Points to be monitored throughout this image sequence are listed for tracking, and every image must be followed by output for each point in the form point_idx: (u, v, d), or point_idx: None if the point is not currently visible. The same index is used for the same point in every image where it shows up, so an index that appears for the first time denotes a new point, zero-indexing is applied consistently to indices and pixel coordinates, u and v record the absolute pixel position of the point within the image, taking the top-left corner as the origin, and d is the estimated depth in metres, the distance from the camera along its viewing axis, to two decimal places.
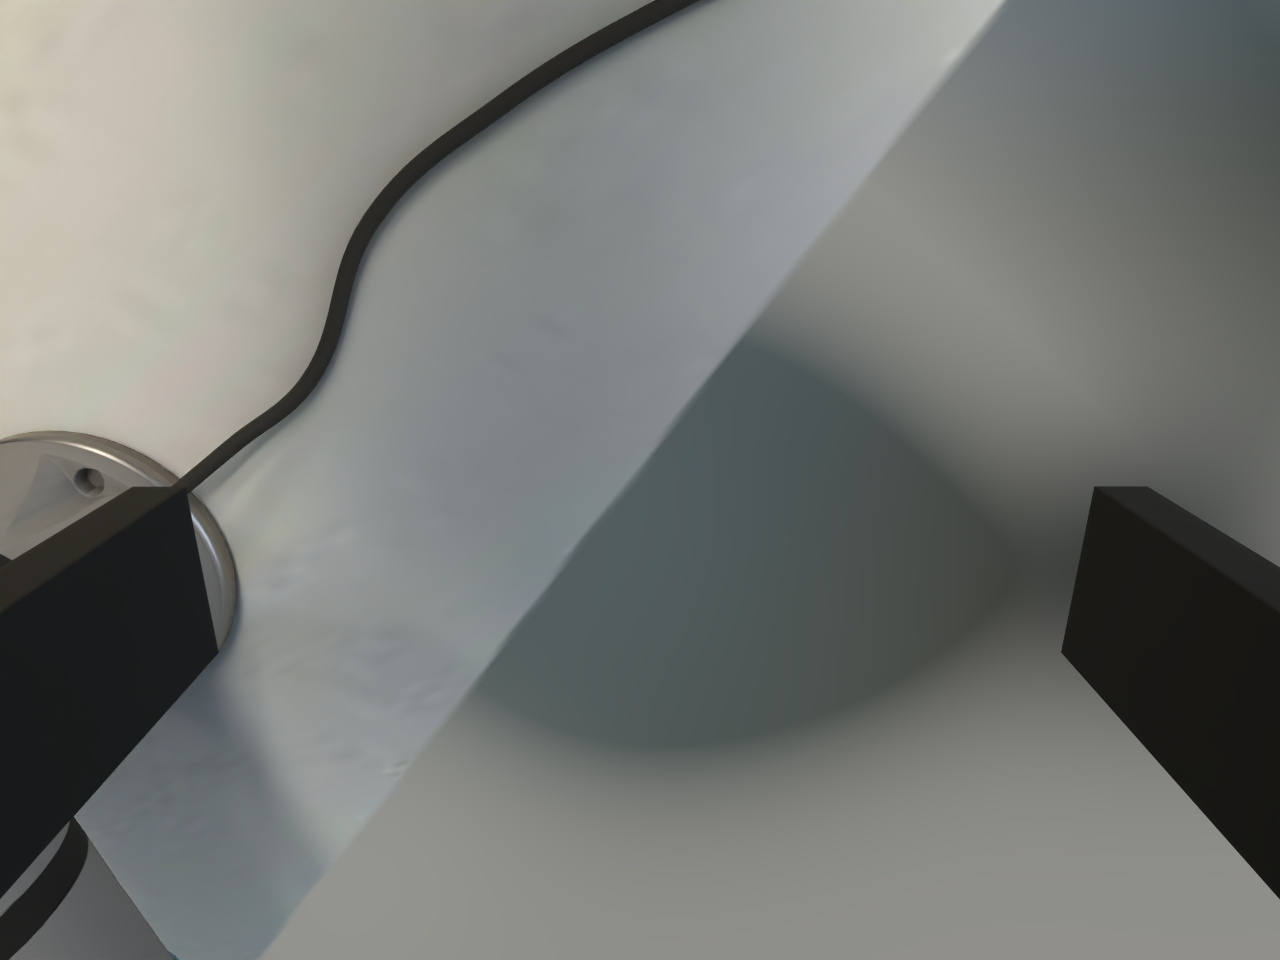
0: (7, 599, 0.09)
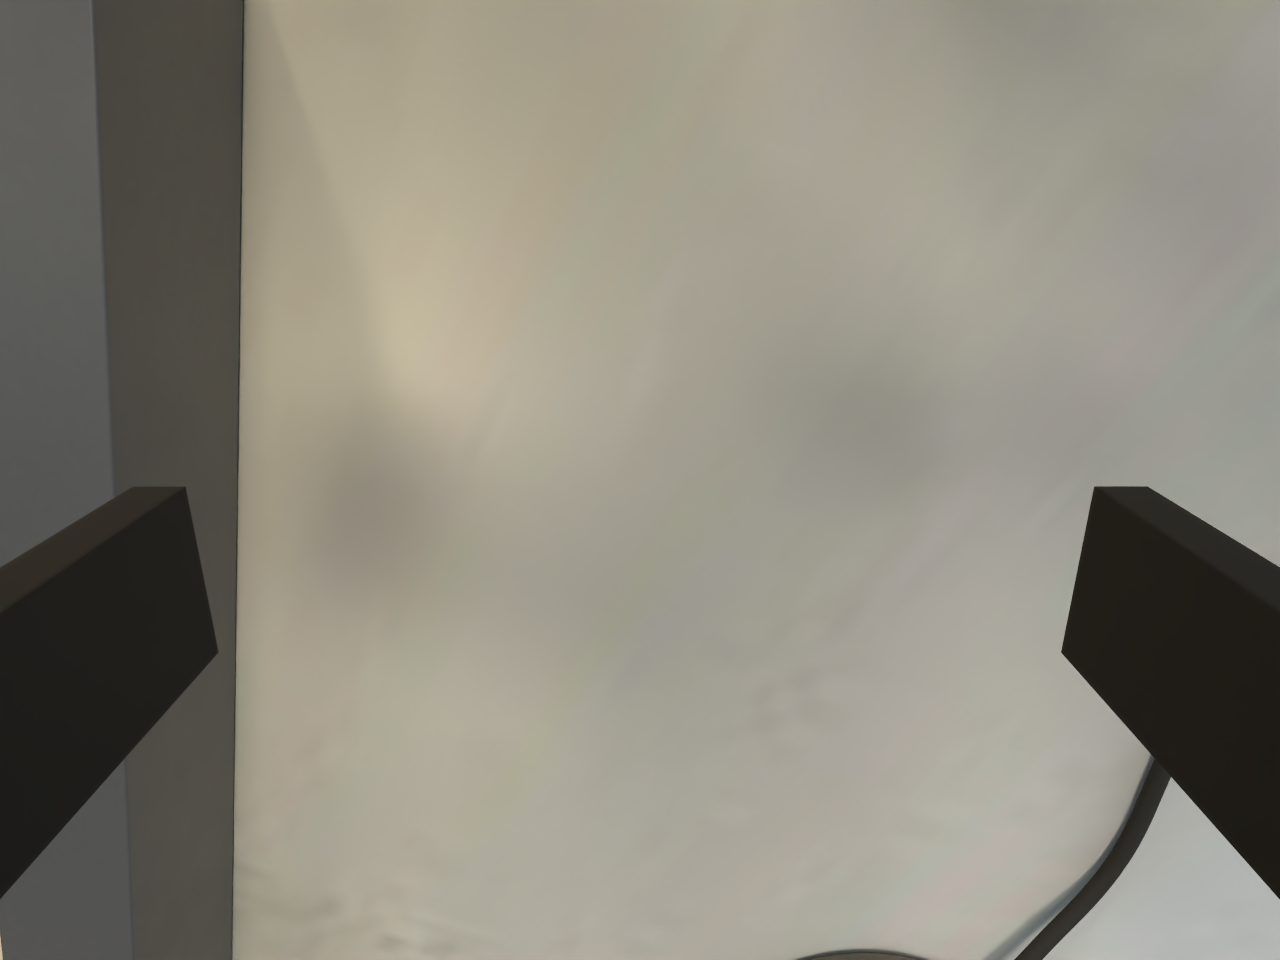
0: (7, 599, 0.09)
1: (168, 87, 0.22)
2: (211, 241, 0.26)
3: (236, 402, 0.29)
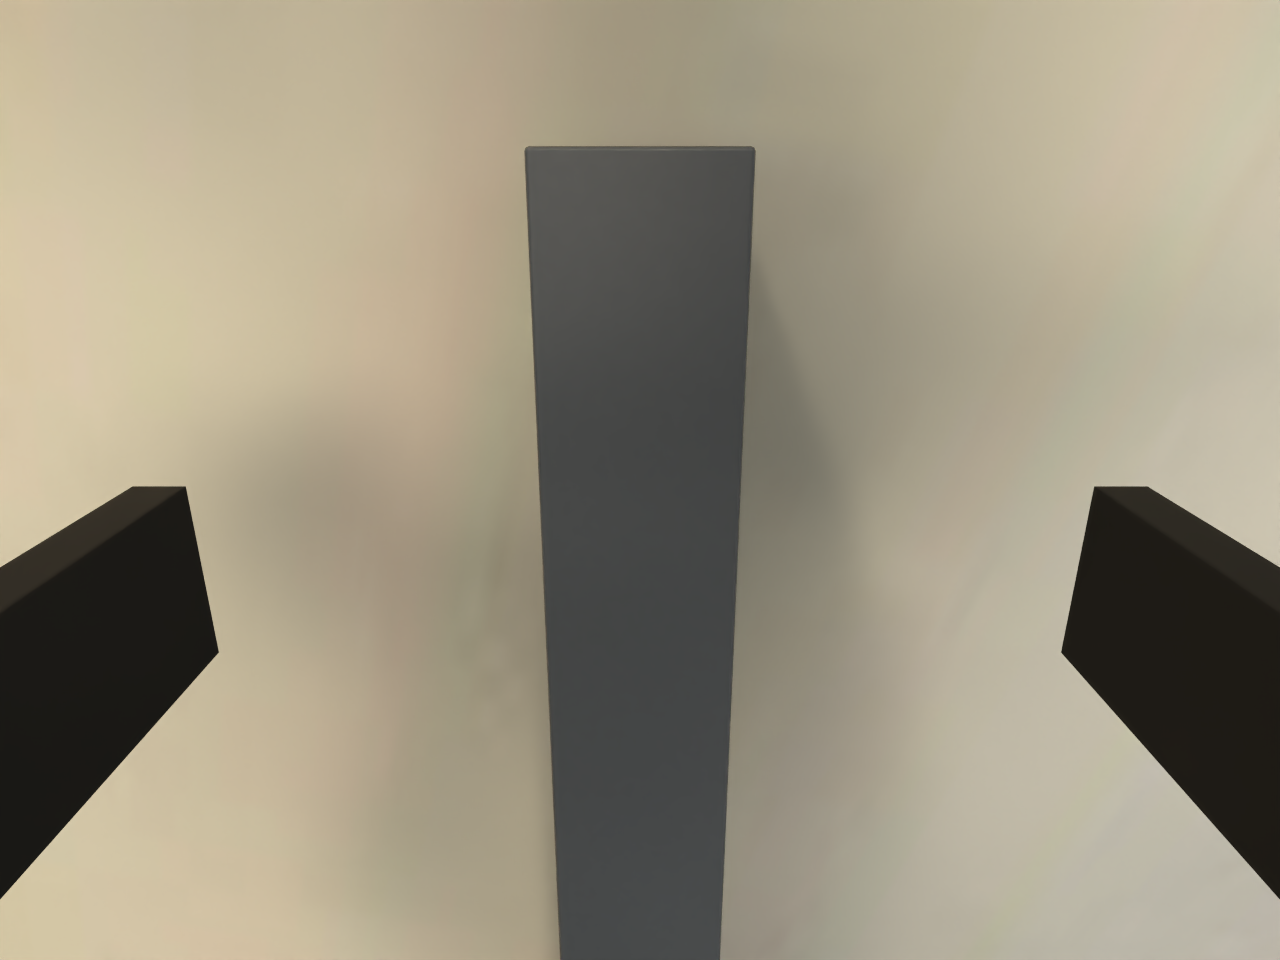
0: (7, 599, 0.09)
1: None
2: None
3: None
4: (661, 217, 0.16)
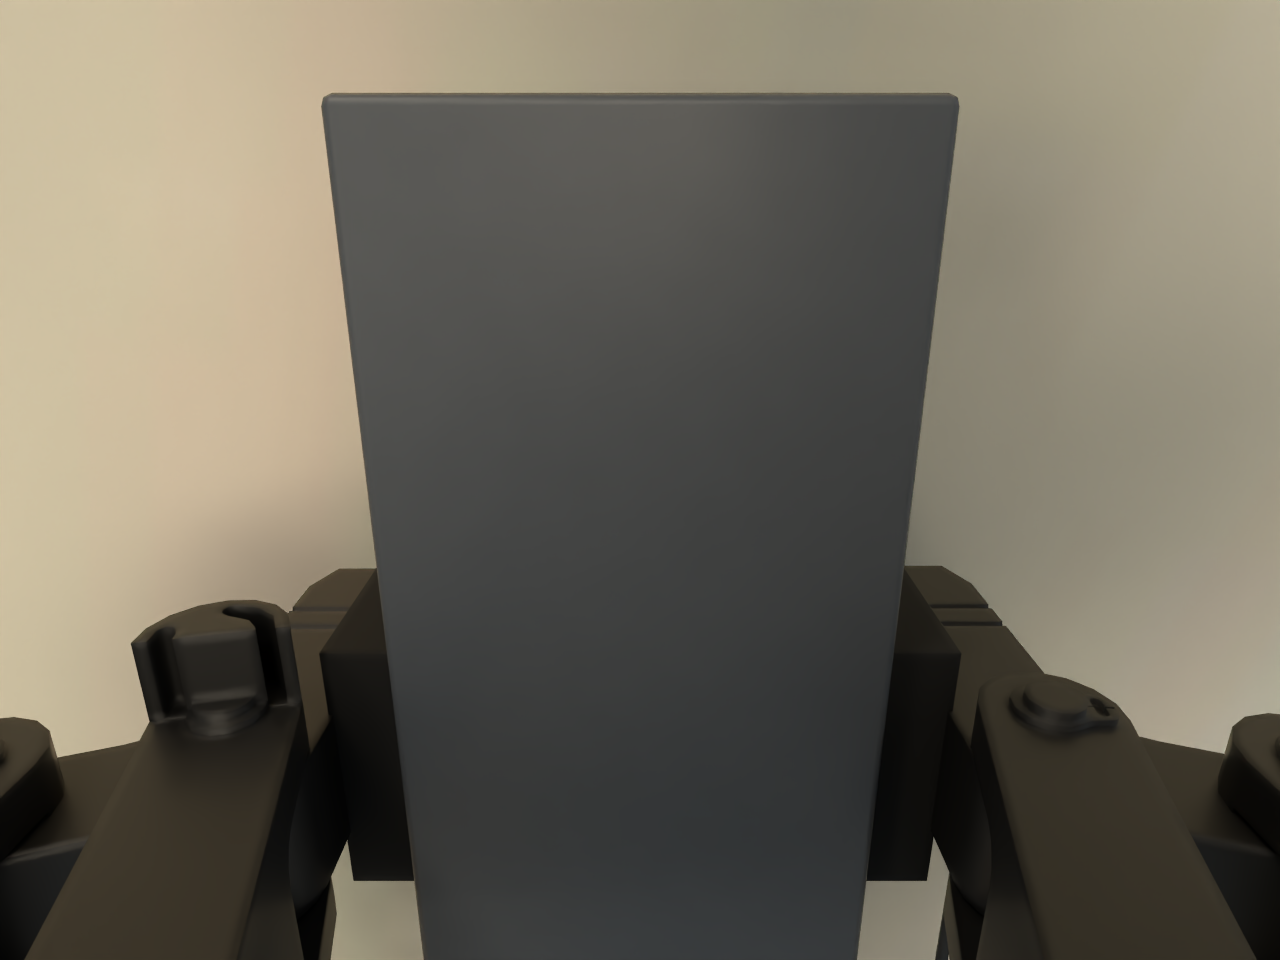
0: None
1: None
2: None
3: None
4: (697, 287, 0.06)
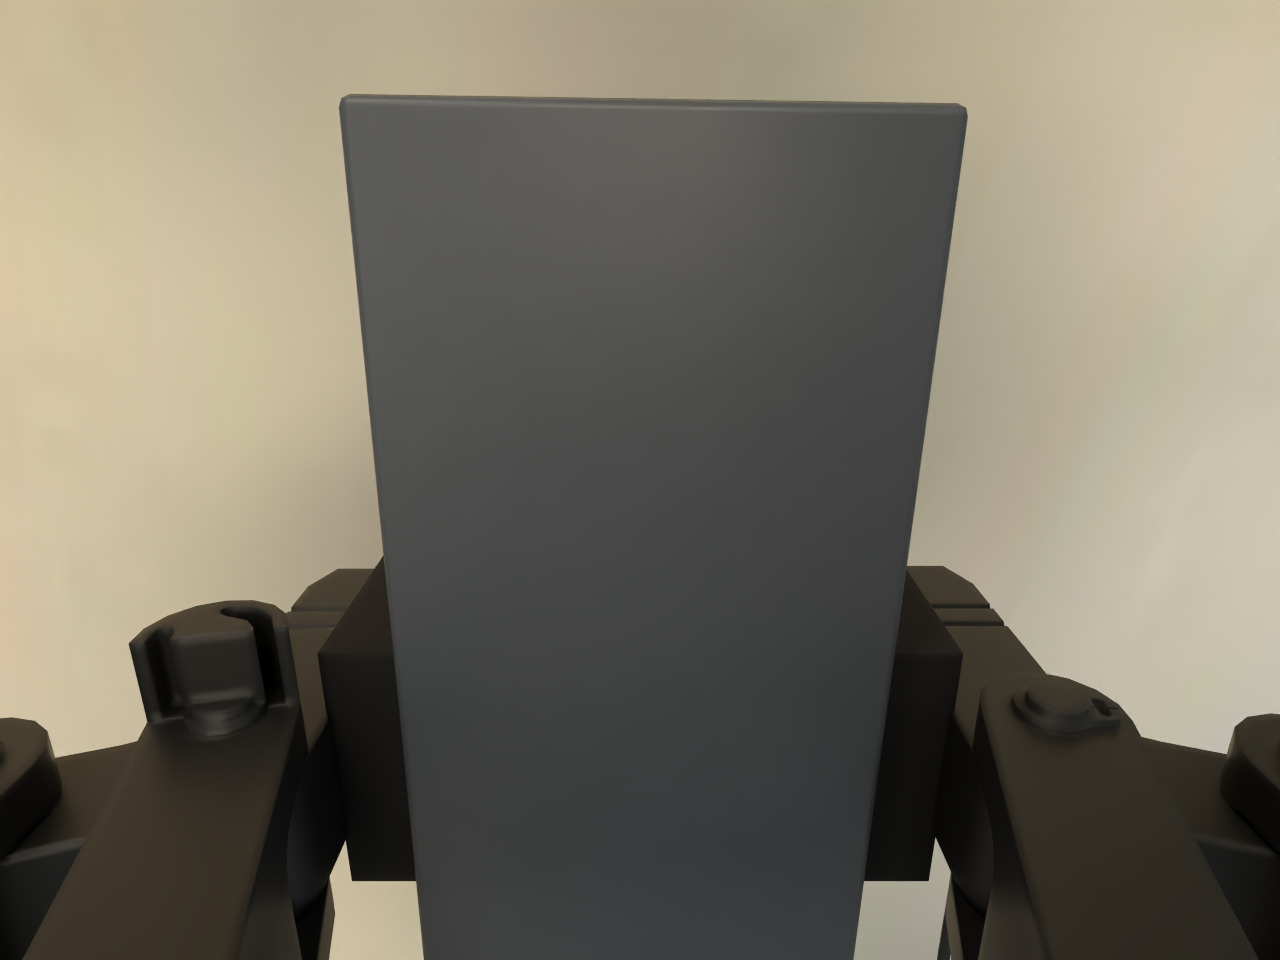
0: None
1: None
2: None
3: None
4: (707, 290, 0.06)
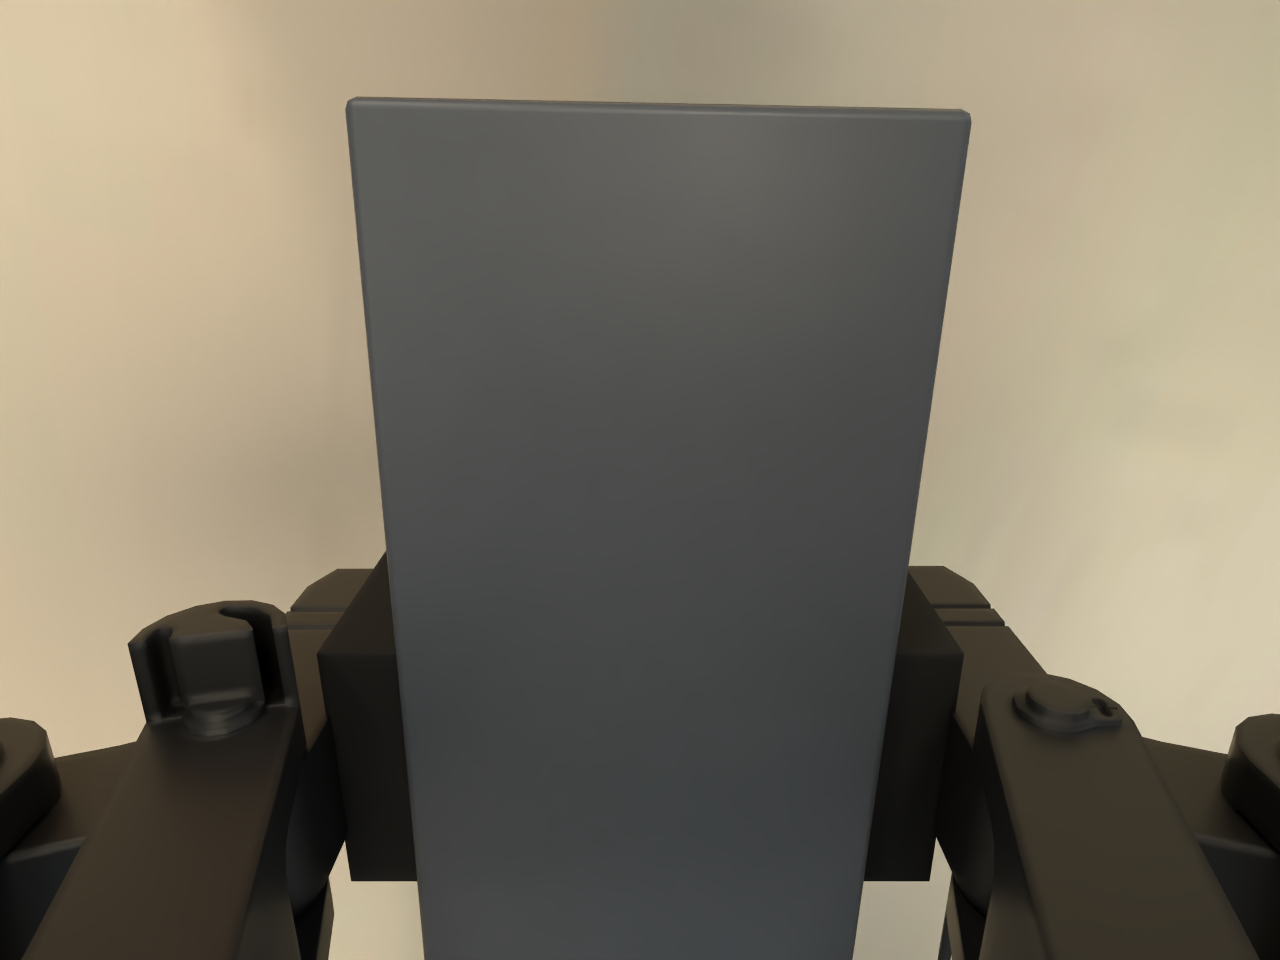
0: None
1: None
2: None
3: None
4: (711, 293, 0.06)
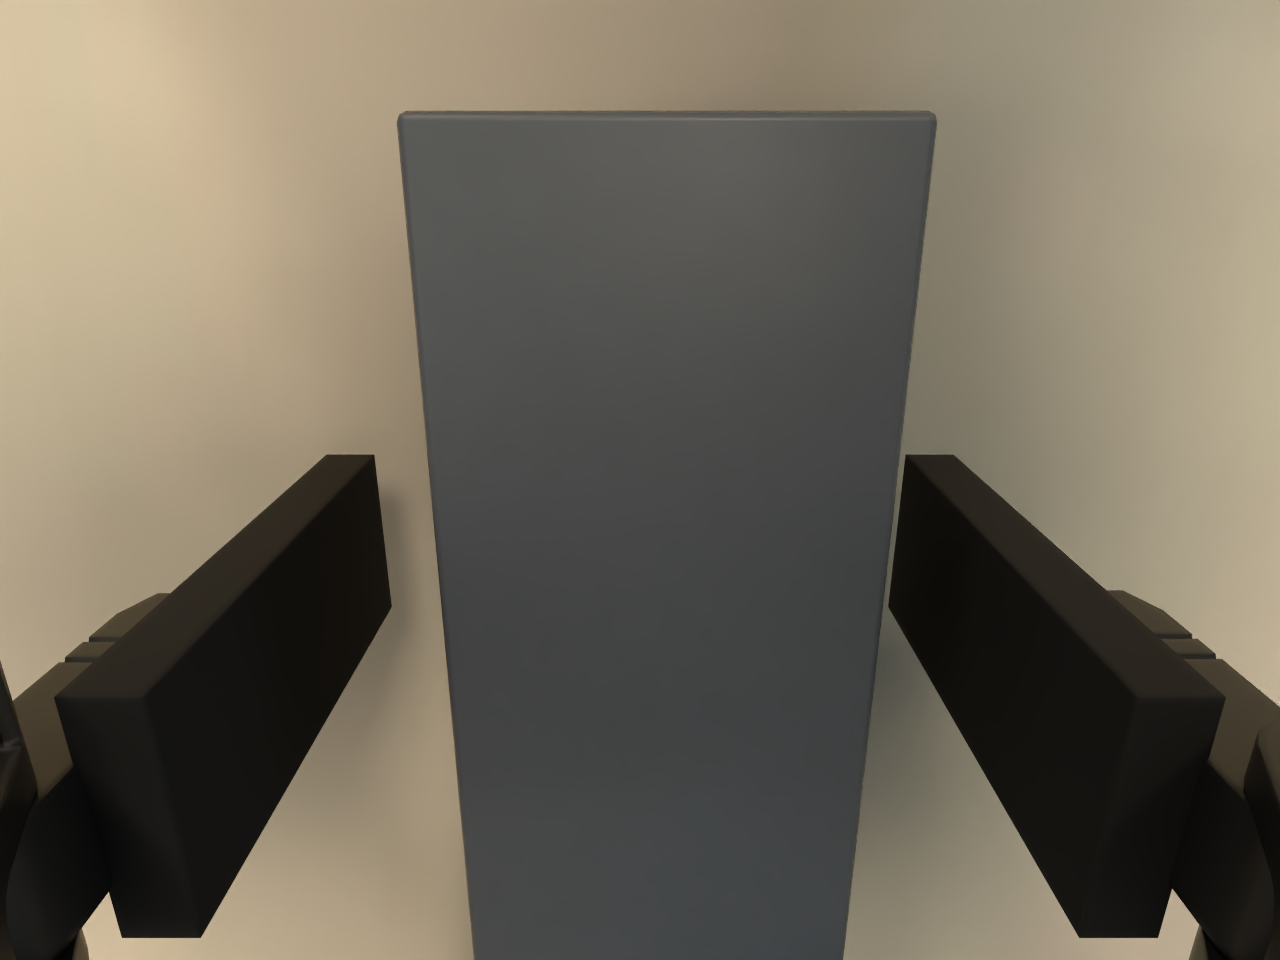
0: (280, 542, 0.10)
1: None
2: None
3: None
4: (714, 276, 0.07)
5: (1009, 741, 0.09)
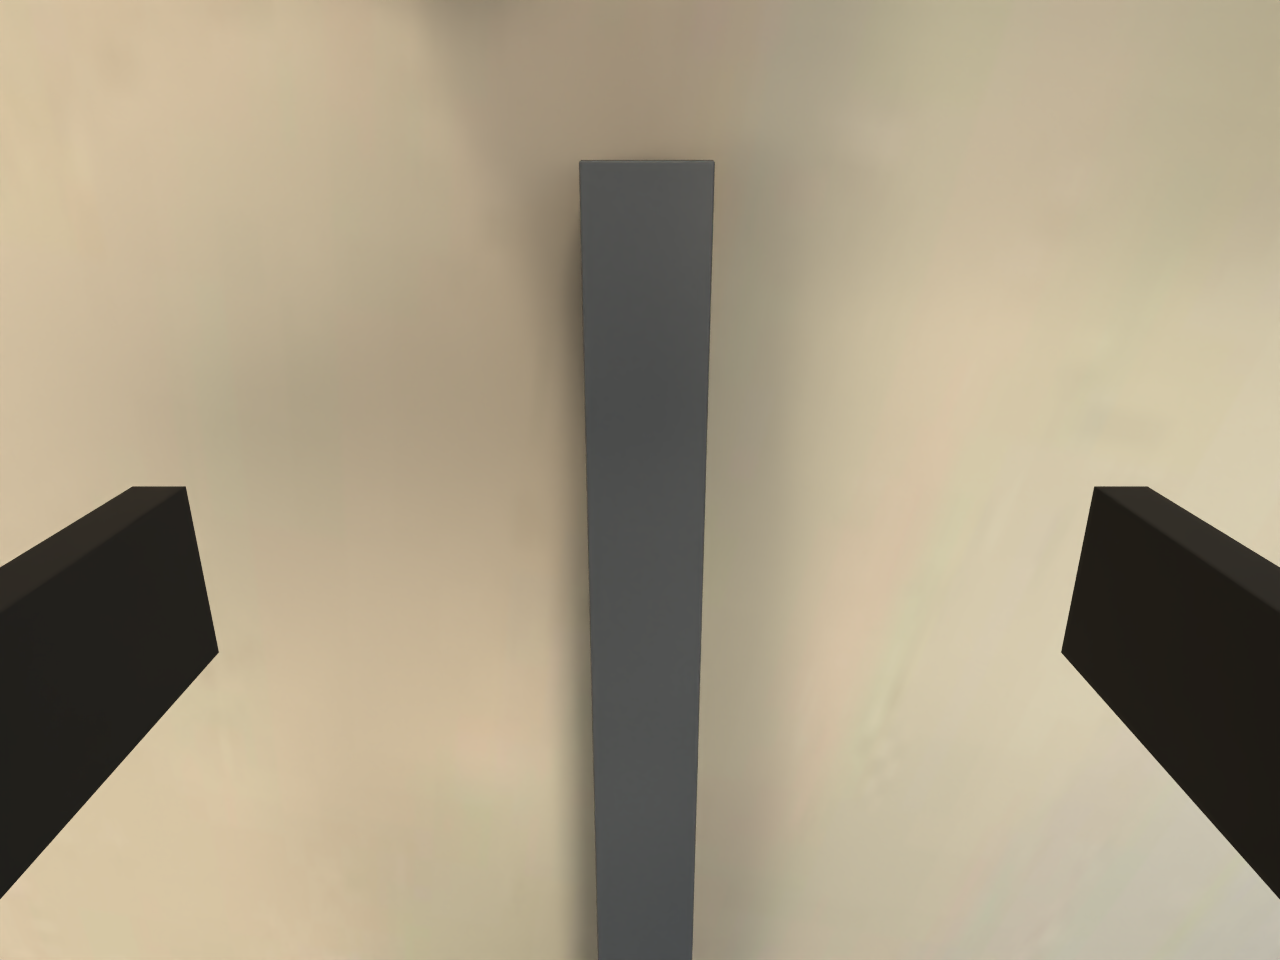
0: (7, 599, 0.09)
1: None
2: None
3: None
4: (659, 201, 0.27)
5: None
